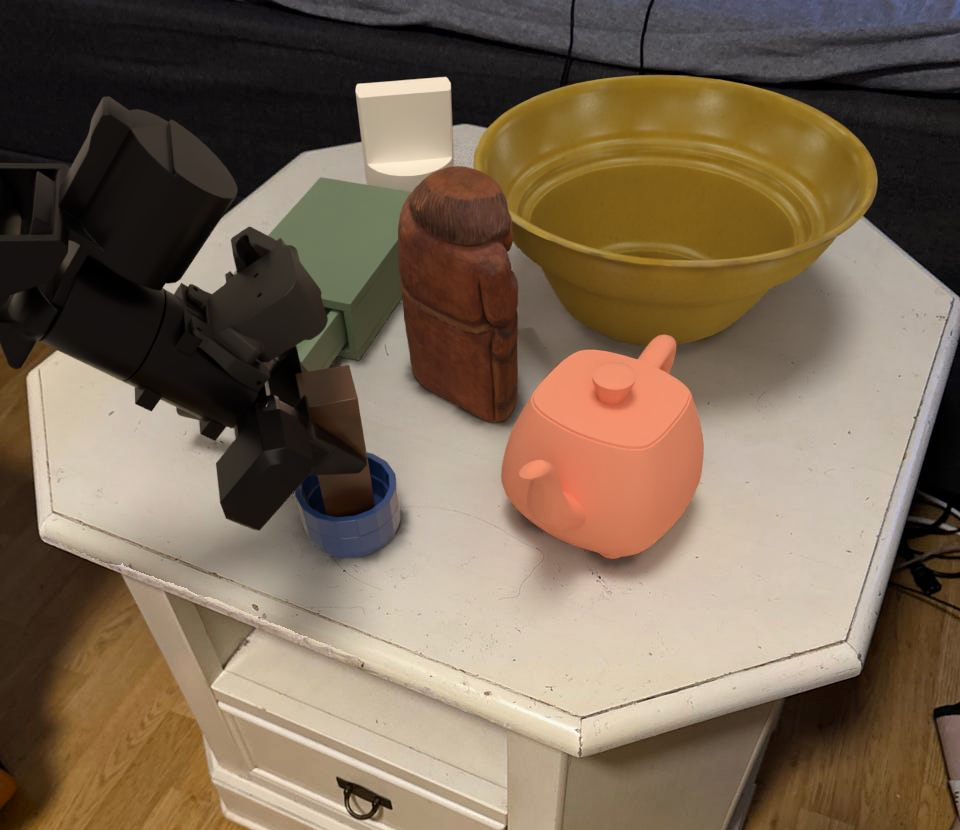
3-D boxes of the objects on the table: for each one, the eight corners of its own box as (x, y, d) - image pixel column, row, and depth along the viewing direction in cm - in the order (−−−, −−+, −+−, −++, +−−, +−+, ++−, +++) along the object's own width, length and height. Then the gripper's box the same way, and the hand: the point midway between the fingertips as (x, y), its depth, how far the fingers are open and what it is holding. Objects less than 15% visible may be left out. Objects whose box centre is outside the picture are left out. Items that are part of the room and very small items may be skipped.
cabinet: (359, 361, 76) (350, 304, 71) (243, 336, 78) (227, 280, 74) (434, 250, 86) (430, 195, 82) (329, 232, 88) (320, 176, 84)
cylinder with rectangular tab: (450, 187, 93) (445, 63, 84) (461, 231, 88) (456, 104, 78) (368, 195, 93) (352, 70, 83) (373, 239, 87) (358, 112, 78)
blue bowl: (304, 563, 62) (293, 525, 59) (306, 493, 67) (296, 454, 63) (403, 555, 63) (398, 516, 59) (398, 485, 67) (393, 446, 64)
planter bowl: (523, 196, 92) (526, 54, 81) (832, 235, 87) (881, 88, 76) (433, 381, 74) (421, 231, 63) (816, 445, 69) (876, 293, 58)
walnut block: (332, 539, 63) (301, 407, 53) (325, 505, 65) (295, 373, 55) (379, 529, 63) (357, 398, 54) (370, 497, 65) (348, 364, 56)
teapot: (443, 560, 62) (432, 429, 52) (581, 408, 72) (594, 273, 62) (604, 642, 58) (626, 516, 48) (729, 468, 67) (768, 333, 57)
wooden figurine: (543, 396, 73) (555, 181, 58) (494, 435, 70) (493, 219, 55) (441, 341, 77) (428, 129, 63) (392, 376, 75) (366, 162, 60)
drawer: (276, 458, 68) (266, 420, 64) (162, 430, 70) (146, 392, 67) (384, 304, 79) (379, 266, 76) (283, 285, 81) (274, 246, 78)
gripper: (230, 325, 39) (469, 462, 50) (205, 140, 50) (406, 285, 60) (116, 482, 45) (353, 576, 55) (115, 284, 55) (314, 395, 66)
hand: (358, 448), depth 59 cm, fingers closed on walnut block, 3 cm apart
